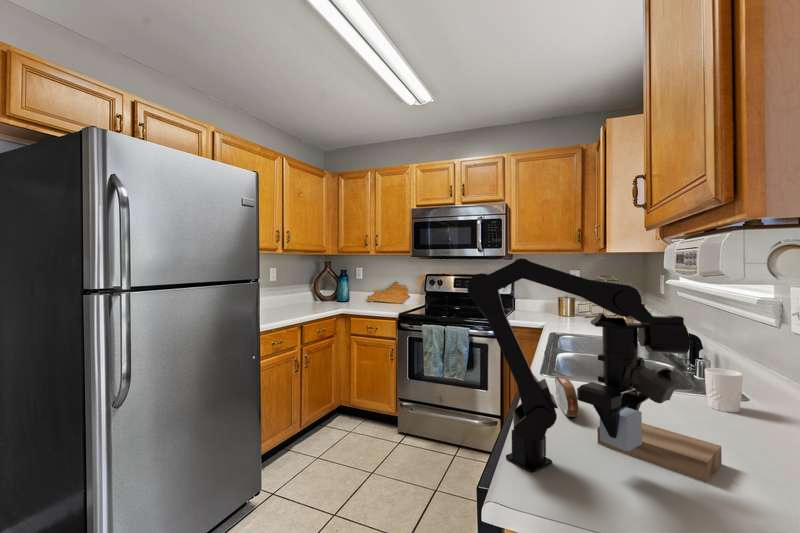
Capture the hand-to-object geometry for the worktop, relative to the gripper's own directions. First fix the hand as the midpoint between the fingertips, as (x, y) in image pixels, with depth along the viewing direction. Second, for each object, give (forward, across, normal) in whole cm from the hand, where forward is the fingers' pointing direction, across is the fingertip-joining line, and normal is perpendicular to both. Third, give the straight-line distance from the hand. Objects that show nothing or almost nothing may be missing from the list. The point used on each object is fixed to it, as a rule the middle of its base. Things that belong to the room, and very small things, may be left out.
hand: (620, 434), depth 70 cm
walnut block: (+8, +14, 0) cm, 16 cm away
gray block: (+2, 0, 0) cm, 2 cm away
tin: (+8, +19, +24) cm, 32 cm away
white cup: (+8, +57, +2) cm, 57 cm away
